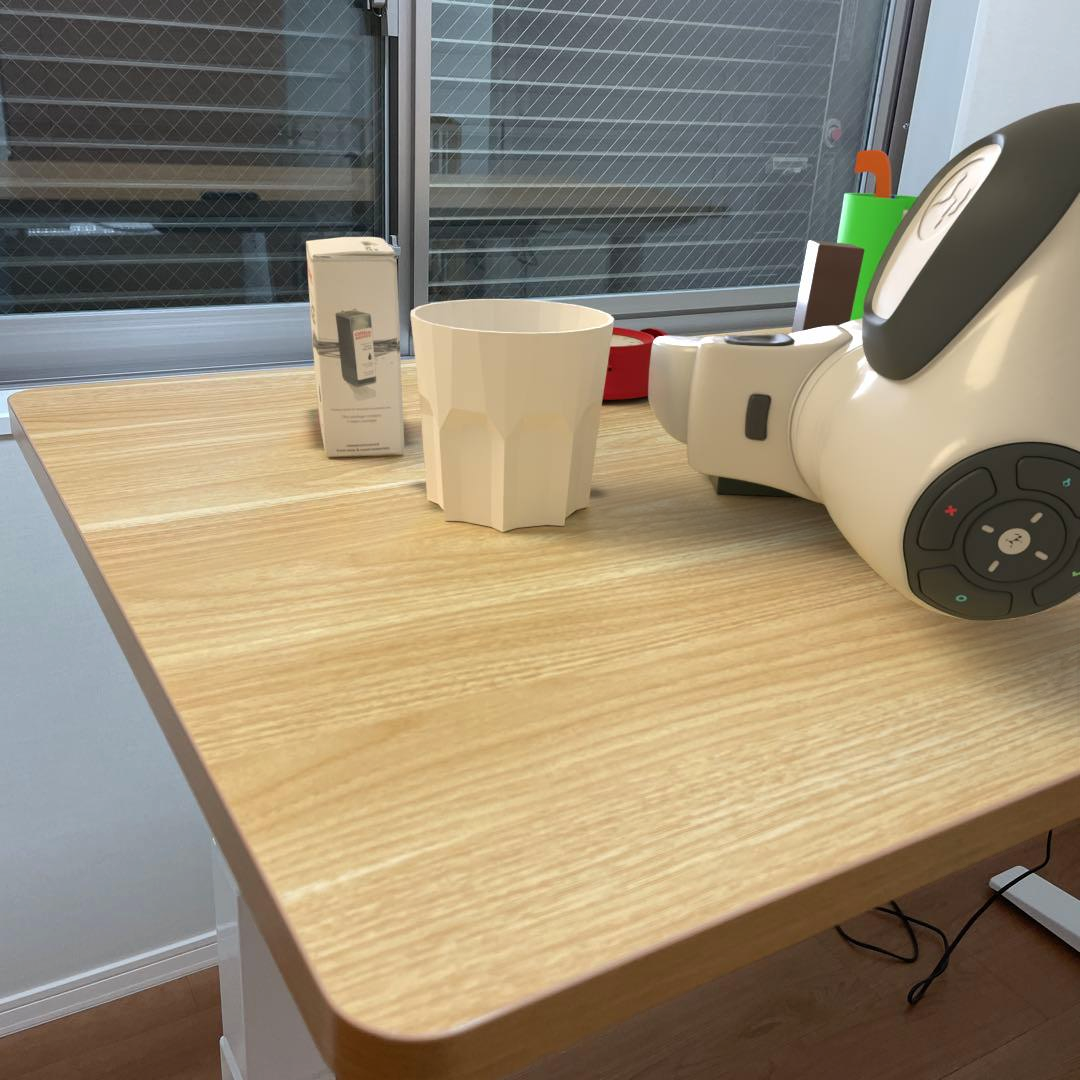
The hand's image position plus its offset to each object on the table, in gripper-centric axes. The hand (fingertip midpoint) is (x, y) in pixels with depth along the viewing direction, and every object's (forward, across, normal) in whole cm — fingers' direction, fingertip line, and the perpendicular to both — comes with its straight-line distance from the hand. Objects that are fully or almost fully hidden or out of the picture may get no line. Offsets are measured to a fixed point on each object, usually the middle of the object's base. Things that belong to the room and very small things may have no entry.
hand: (810, 356), depth 61 cm
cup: (-10, +17, +7) cm, 21 cm away
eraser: (-1, 0, +5) cm, 5 cm away
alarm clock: (+19, +11, +7) cm, 23 cm away
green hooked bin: (+38, -15, +7) cm, 41 cm away
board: (-1, -1, +6) cm, 7 cm away
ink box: (+1, +27, +7) cm, 28 cm away
